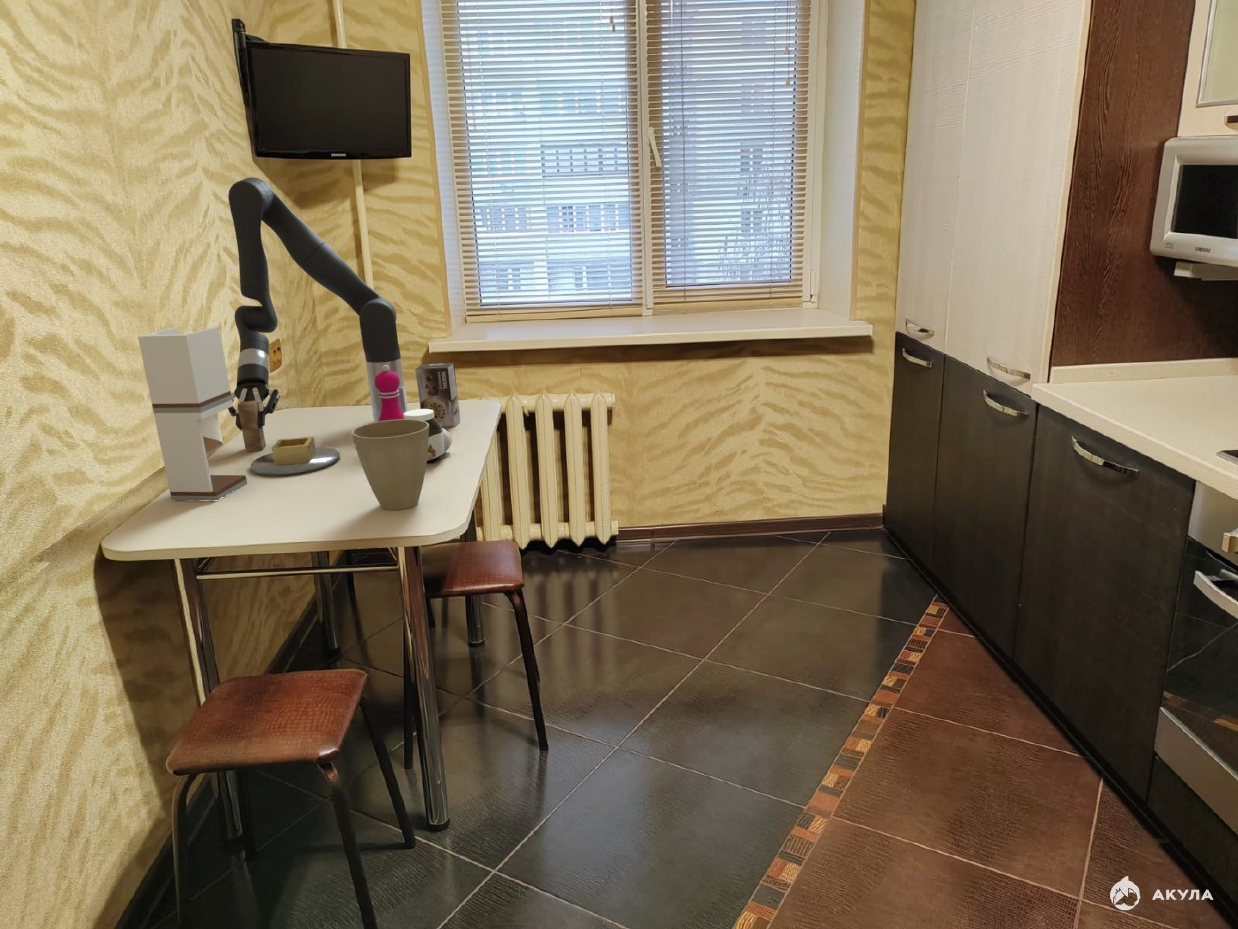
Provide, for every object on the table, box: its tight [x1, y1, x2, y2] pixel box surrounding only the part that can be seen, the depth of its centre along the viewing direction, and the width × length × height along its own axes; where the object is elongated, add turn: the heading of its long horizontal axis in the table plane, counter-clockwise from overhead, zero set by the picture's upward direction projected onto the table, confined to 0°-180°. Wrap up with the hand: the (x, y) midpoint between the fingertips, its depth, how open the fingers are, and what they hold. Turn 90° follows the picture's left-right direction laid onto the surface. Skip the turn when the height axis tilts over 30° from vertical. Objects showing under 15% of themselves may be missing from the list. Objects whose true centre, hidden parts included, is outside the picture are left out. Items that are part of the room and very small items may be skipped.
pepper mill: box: [375, 365, 404, 422], centre depth 225 cm, size 7×7×20 cm
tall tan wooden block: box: [237, 400, 267, 453], centre depth 227 cm, size 4×4×12 cm
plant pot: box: [351, 419, 429, 511], centre depth 181 cm, size 15×15×16 cm
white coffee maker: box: [137, 325, 248, 501], centre depth 191 cm, size 11×11×35 cm
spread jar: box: [404, 408, 453, 465], centre depth 212 cm, size 12×11×12 cm
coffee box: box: [414, 362, 461, 428], centre depth 242 cm, size 9×6×16 cm
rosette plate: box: [250, 436, 341, 478], centre depth 214 cm, size 20×20×5 cm
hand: (250, 427), depth 226 cm, fingers closed on tall tan wooden block, 4 cm apart
